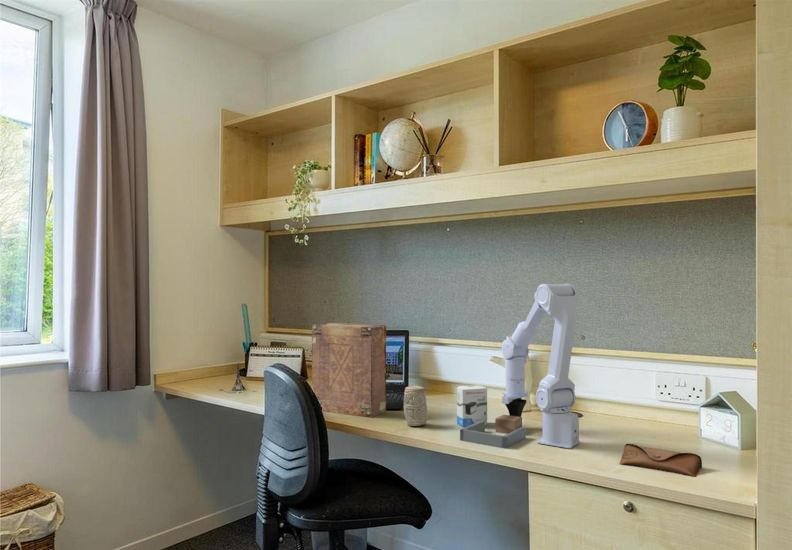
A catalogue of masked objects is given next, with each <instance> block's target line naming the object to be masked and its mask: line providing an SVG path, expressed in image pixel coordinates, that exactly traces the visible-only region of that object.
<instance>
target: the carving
mask: <svg viewBox="0 0 792 550" xmlns="http://www.w3.org/2000/svg"><path fill="white" fill-rule="evenodd" d="M403 394H404V395H403V412H404V418H405V421H406V425H407V426H409V427H419V426H423V425H425V424H426V423H427V421H428V405H427V395H426V389H425V387H423V386H420V385H410V386H406V387H405V388H404V392H403Z"/></svg>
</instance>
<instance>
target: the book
mask: <svg viewBox="0 0 792 550" xmlns="http://www.w3.org/2000/svg"><path fill="white" fill-rule="evenodd" d="M312 390H313V391H314V393H315V395H316V397H317V399H318V401H319V403H320V405H321V407H322V410H323V411H322V412H327V413H336V414H343V415H351V416H358V417H366V418H374V417H375V416H376V417H377V416H378V415H382V414H384V413H386V412H387V325H385V324H368V323H364V324H363V323H345V322H343V323H342V322H327V323H326V324H318V323H317V324H315V323H314V324H311V391H312Z"/></svg>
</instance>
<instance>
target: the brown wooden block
mask: <svg viewBox="0 0 792 550" xmlns="http://www.w3.org/2000/svg"><path fill="white" fill-rule="evenodd" d="M494 419H495V433H500V434H505V435H506V434H508V433H510V432H512V431H514V430H517V429H519V428H521V427H523V416H521V417H518V416H510V415H508V414H501V415H500V416H498V417H496V418H494Z"/></svg>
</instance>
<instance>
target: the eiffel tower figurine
mask: <svg viewBox="0 0 792 550" xmlns="http://www.w3.org/2000/svg"><path fill="white" fill-rule="evenodd" d="M236 372H237V373H236V378H235V379H236V380H235V382H234V383H233V387H232V389H231V390H227V391H226V390H225V389H222V388H220V389H218V390H219V391H221V392H226V393H229V394H243V393H244V391H246V390H247V388H246V387H245V385H244V384H243V382H242V379H241V375H240V362H239V361H237V371H236ZM237 387H238V388H237ZM253 392H254V390H252V391H251V390H250V393H253Z"/></svg>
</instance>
